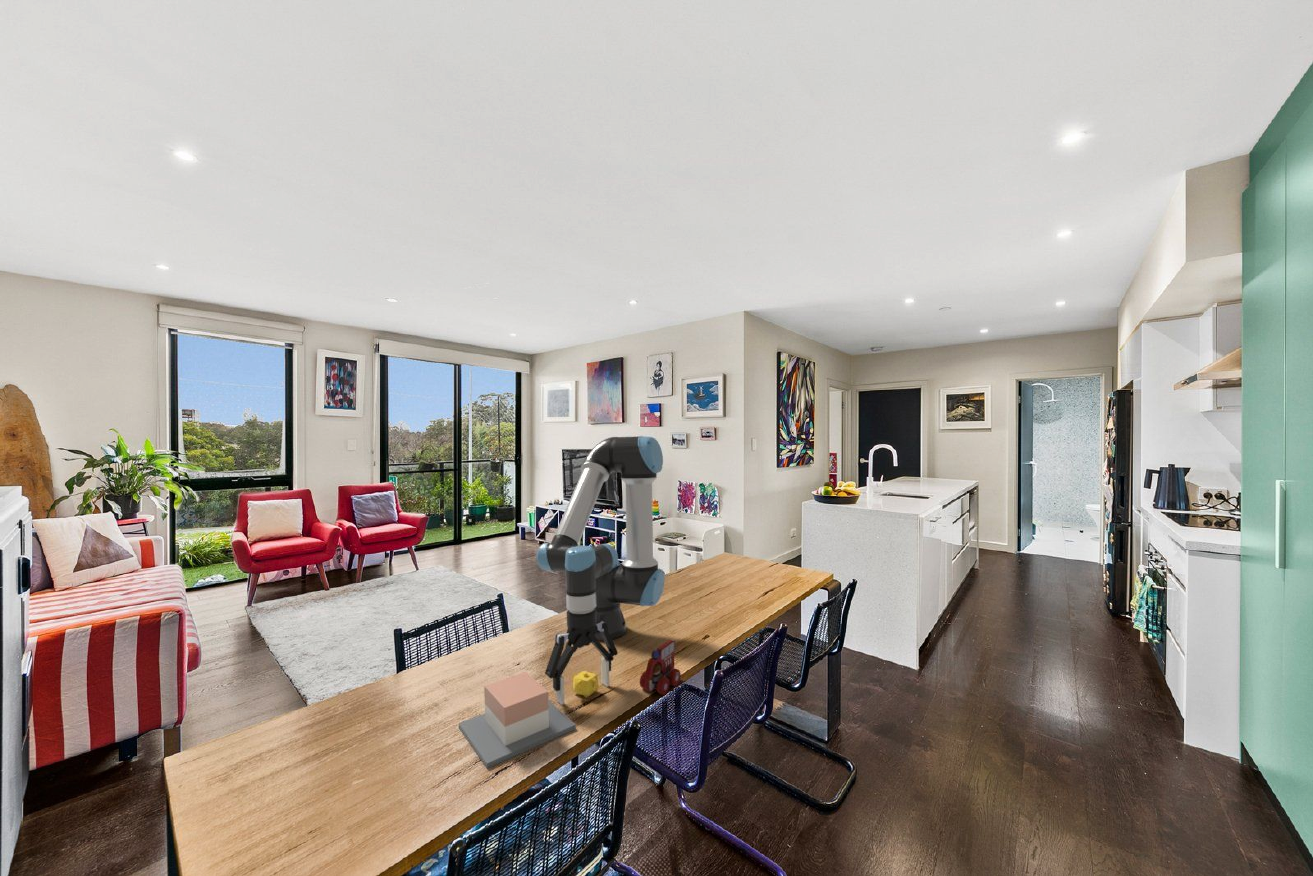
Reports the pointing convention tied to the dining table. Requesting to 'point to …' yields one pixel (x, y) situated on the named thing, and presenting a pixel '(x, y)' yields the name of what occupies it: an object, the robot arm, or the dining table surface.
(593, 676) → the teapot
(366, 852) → the dining table surface
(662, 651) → the toy fire truck
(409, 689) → the dining table surface
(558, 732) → the tower base
